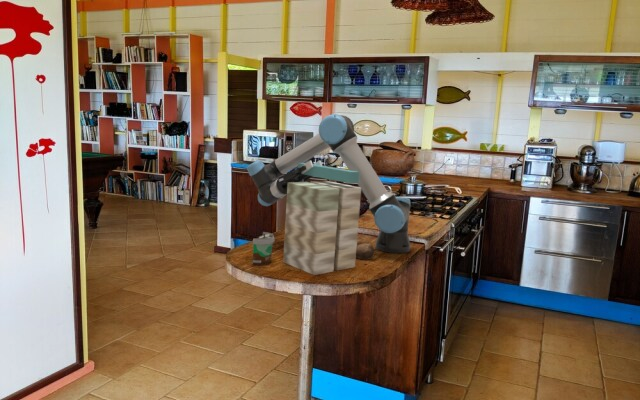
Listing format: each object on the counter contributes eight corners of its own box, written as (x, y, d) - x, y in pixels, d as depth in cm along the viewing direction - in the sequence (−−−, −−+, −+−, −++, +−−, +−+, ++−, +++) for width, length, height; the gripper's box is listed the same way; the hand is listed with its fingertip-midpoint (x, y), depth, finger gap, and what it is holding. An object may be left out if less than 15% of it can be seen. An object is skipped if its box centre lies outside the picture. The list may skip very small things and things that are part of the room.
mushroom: (363, 246, 208) (364, 236, 203) (377, 257, 204) (378, 247, 199) (349, 256, 204) (350, 247, 200) (364, 268, 200) (365, 258, 196)
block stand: (283, 262, 188) (287, 182, 184) (322, 255, 202) (328, 181, 197) (314, 275, 175) (320, 189, 170) (354, 267, 188) (361, 187, 184)
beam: (297, 173, 200) (298, 163, 200) (305, 173, 203) (305, 163, 202) (350, 183, 178) (351, 172, 178) (358, 182, 181) (359, 171, 180)
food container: (267, 267, 180) (269, 240, 179) (251, 265, 181) (252, 238, 180) (277, 258, 192) (279, 233, 191) (262, 257, 193) (263, 231, 192)
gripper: (301, 193, 216) (335, 172, 199) (268, 195, 205) (301, 173, 188) (296, 177, 218) (329, 154, 201) (264, 178, 206) (296, 154, 190)
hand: (316, 163), depth 195 cm, fingers closed on beam, 4 cm apart
